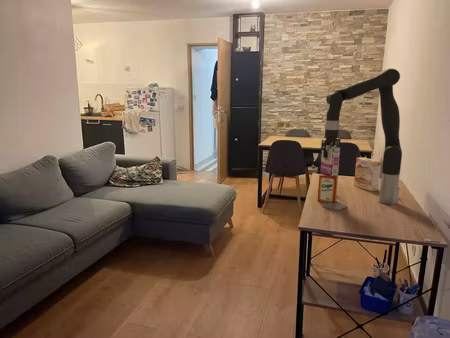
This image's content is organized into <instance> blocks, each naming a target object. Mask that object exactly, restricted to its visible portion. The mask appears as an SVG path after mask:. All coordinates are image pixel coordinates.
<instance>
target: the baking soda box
mask: <svg viewBox="0 0 450 338" xmlns="http://www.w3.org/2000/svg"><path fill="white" fill-rule="evenodd" d="M318 177H319V178H318V189H317V193H318V194H317V202H319V201H320V202H321V203H326V202H327V203H330V202H333V203H336V201H337V193H338V180H339V175H338V176H329V175H326V174H323V173H320V174H319V176H318ZM320 202H319V203H320ZM327 203H326V204H327Z"/></svg>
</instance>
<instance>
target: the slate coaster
mask: <svg viewBox="0 0 450 338" xmlns="http://www.w3.org/2000/svg"><path fill="white" fill-rule="evenodd" d="M321 207H322V208H324V207H325V208H324V209H328V208H329V210H332V211H333V210H334V211H336V212H341V211H343V210H344V209H346V208H348V205H346V204H341V203H336V202H335V203H333V202H330V203H326V204H322V205H321Z"/></svg>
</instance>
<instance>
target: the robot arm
mask: <svg viewBox="0 0 450 338" xmlns="http://www.w3.org/2000/svg"><path fill="white" fill-rule="evenodd" d="M400 78H401V73H400V71H399V70H397V69H395V68H387V69H384V70H382V71H380V72H379V73H378V75H377V76H374V77H373V78H369V79H367V80H363V81H359V82H357V83H354V84H352V85H349V86H346V87H343V88H342V89H338V90H334V91H332V92H329V93H328V94H327V96H326V98H325V101H326V103H327V104H328V110H327V111H326V118H325V120H326V121H325V128H324V137H325V139H321V143H320V150H321V151H322V150H323V157H324V158H327V154H328V149H329V148H330V147H332V146H335V147H340V148H341V140H342V139H341V138H339V134H340V115H341V110H342V105H343V102H345V101H349V100H352V99H353V100H354V99H355V98H358V97H361V96H363V95H365V94H367V93H370V92H372V91H374V90H377V89H378V90H379V91H378V92H379V98H380V99H379V100H380V102H379V103H380V116H381V117H380V118H381V126H382V130H383V134H384V152H383V158H382V166H381V178H380V185H379V186H380V188H379V196H378V197H379V199H378V202H379V203H381V204H384V205H391V206H393V205H396V204H398V203H399V196H400V188H401V187H399V182H400V174H401V169H402V168H401V167H402V161H403V160H402V158H403V152H402V147H401V142H400V124H401V123H400V122H401V121H400V119H401V118H400V117H401V116H400V109H399V105H398V103H397V101H396V99H395V96H394V87H393V86H394V85H396V84H397V83H398V82H399V80H400ZM323 146H324V148H323ZM326 148H327V149H326Z"/></svg>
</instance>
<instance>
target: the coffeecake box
mask: <svg viewBox="0 0 450 338" xmlns="http://www.w3.org/2000/svg"><path fill="white" fill-rule="evenodd" d="M381 165H382V161H381V160H377V159H371V158H369V157H368V158H367V157H356V160H355V171H354V182H353V186H354V187H357V188H360V189H364V190H366V191H370V192H373V191H375V192H376V191H379V186H380V185H379V184H380V175H381V169H382V166H381Z"/></svg>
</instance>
